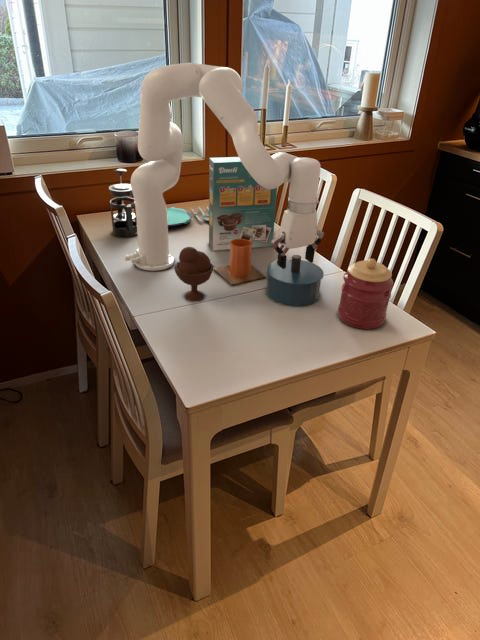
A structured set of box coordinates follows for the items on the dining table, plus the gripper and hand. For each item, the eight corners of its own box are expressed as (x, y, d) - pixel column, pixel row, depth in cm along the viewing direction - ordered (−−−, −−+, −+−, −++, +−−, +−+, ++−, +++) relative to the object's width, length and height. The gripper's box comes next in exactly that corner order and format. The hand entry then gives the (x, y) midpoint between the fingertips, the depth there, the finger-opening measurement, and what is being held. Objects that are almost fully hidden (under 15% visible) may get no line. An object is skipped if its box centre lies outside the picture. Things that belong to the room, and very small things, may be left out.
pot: (286, 311, 141) (288, 289, 137) (256, 287, 152) (258, 266, 149) (329, 299, 148) (332, 278, 144) (298, 277, 159) (300, 257, 155)
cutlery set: (135, 214, 202) (135, 208, 200) (207, 208, 211) (207, 203, 210) (145, 232, 186) (144, 226, 185) (222, 225, 195) (222, 219, 194)
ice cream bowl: (184, 308, 140) (183, 259, 132) (170, 291, 148) (168, 243, 140) (219, 301, 144) (220, 253, 136) (203, 284, 152) (203, 238, 144)
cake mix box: (267, 239, 185) (273, 155, 169) (272, 246, 180) (279, 160, 164) (208, 243, 179) (209, 157, 163) (212, 250, 174) (213, 162, 158)
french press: (108, 229, 187) (101, 167, 175) (132, 225, 191) (127, 164, 179) (118, 241, 178) (112, 176, 166) (144, 236, 182) (139, 172, 170)
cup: (235, 278, 155) (237, 248, 150) (225, 270, 160) (226, 240, 155) (254, 274, 158) (256, 245, 153) (243, 266, 163) (245, 237, 158)
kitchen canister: (393, 318, 139) (407, 260, 130) (368, 335, 131) (380, 275, 122) (354, 301, 147) (364, 245, 138) (327, 316, 139) (336, 257, 130)
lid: (287, 292, 137) (289, 273, 134) (256, 268, 149) (257, 250, 146) (334, 280, 144) (337, 262, 141) (301, 258, 156) (303, 241, 153)
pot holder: (231, 285, 152) (232, 284, 152) (213, 270, 161) (213, 268, 161) (265, 278, 158) (265, 276, 157) (246, 263, 166) (246, 261, 166)
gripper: (318, 198, 142) (311, 253, 151) (267, 205, 135) (262, 264, 144) (335, 206, 137) (327, 263, 146) (282, 214, 129) (277, 274, 138)
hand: (295, 263), depth 145 cm, fingers open, 9 cm apart
